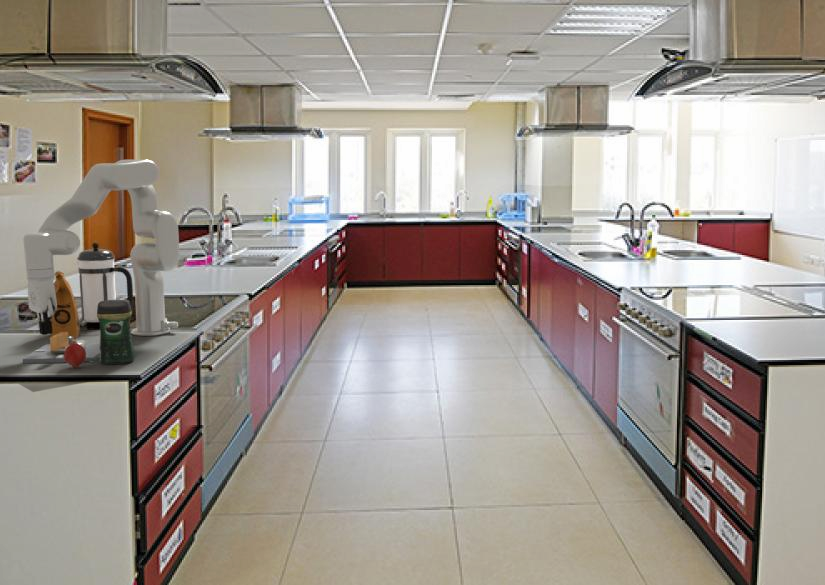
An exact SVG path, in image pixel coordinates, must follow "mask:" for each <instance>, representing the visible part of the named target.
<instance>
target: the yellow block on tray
mask: <svg viewBox="0 0 825 585" xmlns="http://www.w3.org/2000/svg"><path fill="white" fill-rule="evenodd" d="M73 341H76V342H77V343H78V344H79V345H81V346H82V347H83V348H84V349H85V350H86V344H87V341H85V340H80V339H73V336H68V332H60V333H58V334H56V335H54V336H50V337H49V344H50V349H51V352H52V353H61V354H63V353H64V352H65V350H66V348H67V347H68V346H69V345H70V344H72V342H73Z"/></svg>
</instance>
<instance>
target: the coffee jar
mask: <svg viewBox="0 0 825 585" xmlns="http://www.w3.org/2000/svg"><path fill="white" fill-rule="evenodd" d="M132 314H133V311H132V305H131V306H130V302H129V300H128V299H116V300H106V301H100V302H99V303H98V307H97V318H98V320H99V322H98V323H99V333H100V334H99V343H100V357H99V362H100V363H101V364H104V365H121V364H128V363H130V362H131V363H132V362H133V361H134V360H135V350H134V349H135V348H134V344H133V338H132V330H131V318H132Z"/></svg>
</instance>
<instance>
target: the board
mask: <svg viewBox="0 0 825 585" xmlns="http://www.w3.org/2000/svg"><path fill="white" fill-rule="evenodd" d="M85 352H86V358H85V360H84V361H83V362H82V363H84V362H85V361H94V360H95V361H96V360H98V359H99V358H100V357H99V356H100V342H98V343H86V350H85ZM95 361H94V362H95ZM34 363H35V364H38V363H39V364H40V363H41V364H46V363H47V364H48V363H67V362H66V361H65V358H64V353H63V354H61V353H52V352H51V349H50V343H48V344H46V343H45V345H42V346H41V347H39V348H37V349H35V350H34V351H33V352H32V353H30V354H28V355H27V356H25V357H24V358H22V364H34ZM85 363H86V362H85Z"/></svg>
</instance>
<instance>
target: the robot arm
mask: <svg viewBox="0 0 825 585" xmlns="http://www.w3.org/2000/svg"><path fill="white" fill-rule="evenodd" d="M159 177H160V169H159V167H158V165H157V164H156V163H155V162H154V161H153V160H149V159H121V160H117V161H116V162H115V163H113V162H109V163H107V162H106V163H104V162H102V163H96V164H94V165H93V166H91V168H90V169H89V171H88V172H87V174H85V176H84V178H83V179H82V181H81V183H80V184H79V186H78V187H77V188H76V190H75V191H74V193H73V195H72V196H71V197H70V198H69V199H68V200H66V201H65V202H64V203H62V204H61V205H60V206H59V207H57V208H56V209H55V210H54V211H53V212H52V213H50V214H49V216H47V217H46V219H45V220H44V222H43V223H42V225H41V226H40V227H39V229H38V231H37V232H30V233H26V234H24V236H23V247H24V248H23V249H24V259H25V269H26V270H25V271H26V279H27V296H28V297H27V299H28V302H27V303H28V309H29V310H30V311H32V312H34V313H36V314H37V315H36V316H37V321H38V328H39V334H40V335H42V336H44V335H45V336H46V335H51V333H53V330H52V316H54V313H53V311H56V309H57V302H56V294H55V287H54V282H55V281H54V280H55V279H56V276H55V266H54V256H68V255H72V254H74V253H77V251H78V250H79V249H80V246H81V240H80V237H79V235H77V234H76V233H75V232H73V231H72V230H68V229H69V228H70V227H72V226H73V225H74V224H76V223H78V222H80V221H82V220H86V219H88V218H90V217H92V216H94V215H95V214H97V212H98V211H99V209H100V208H101V207H102V205H103V203H104V202H105V200H106V198H107V197H108V195H109V194H110V192H111V191H127V192H128V194H129V196H130V201H131V209H132V210H131V212H132V215H131V216H132V228H133V232H134V234H135V235H136V236H137V237H139V238H142V239H152V240H154V241H155V242H154V241H153V242H152V241H151V242H150V241H142V242H138V243H136V244H135V245H134V246H133V247H132V248H131V250H130V254H129V258H130V263H131V269H132V271H133V279H134V294H135V295H134V296H135V298H134V299H135V302H134V303H135V320H136V321H135V322H136V327H135V328H133V329H132V330H131V334H132V335H135V336H142V337H143V336H144V337H145V336H147V337H148V336H151V337H153V336H161V335H165V334H168V333H170V332H171V328H173V329H174V328H178V327H179V322H178V321H169V320H168V317H166V314H165V312H166V310H165V308H166V307H165V306H166V305H165V289H164V288H165V287H164V278H163V276H162V273H161V272H171V271H173V270H175V269H176V267H177V266H178V264H179V261H180V240H179V238H180V235H179V225H178V221H177V219H176V217H175V216H174V215H173V214H172V213H171V212H168V211H165V210H159V203H158V202H159V200H158V194H157V191H156V189H155V187H154V184H155V183H156V182H158V180H159Z"/></svg>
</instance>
